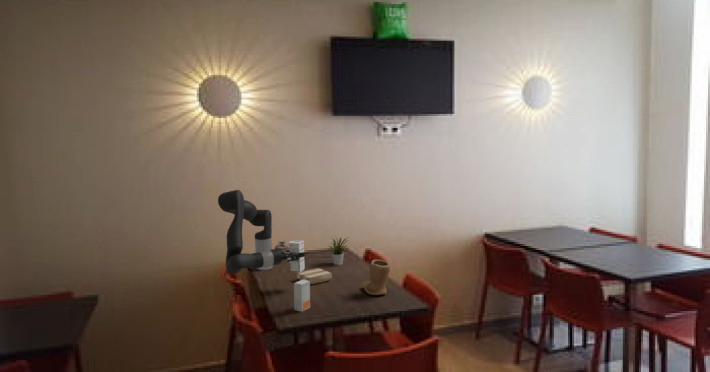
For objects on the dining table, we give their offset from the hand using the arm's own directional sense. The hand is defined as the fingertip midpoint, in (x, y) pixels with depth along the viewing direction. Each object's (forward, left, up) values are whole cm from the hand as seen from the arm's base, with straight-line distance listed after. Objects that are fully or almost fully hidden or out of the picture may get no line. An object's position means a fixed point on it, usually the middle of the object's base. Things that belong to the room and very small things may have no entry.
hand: (300, 252), depth 237 cm
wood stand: (-6, +11, -17) cm, 21 cm away
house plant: (-24, +39, -18) cm, 49 cm away
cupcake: (-58, +19, -18) cm, 63 cm away
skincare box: (+26, -14, -18) cm, 35 cm away
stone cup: (+28, +25, -18) cm, 42 cm away
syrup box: (0, -2, -9) cm, 9 cm away
